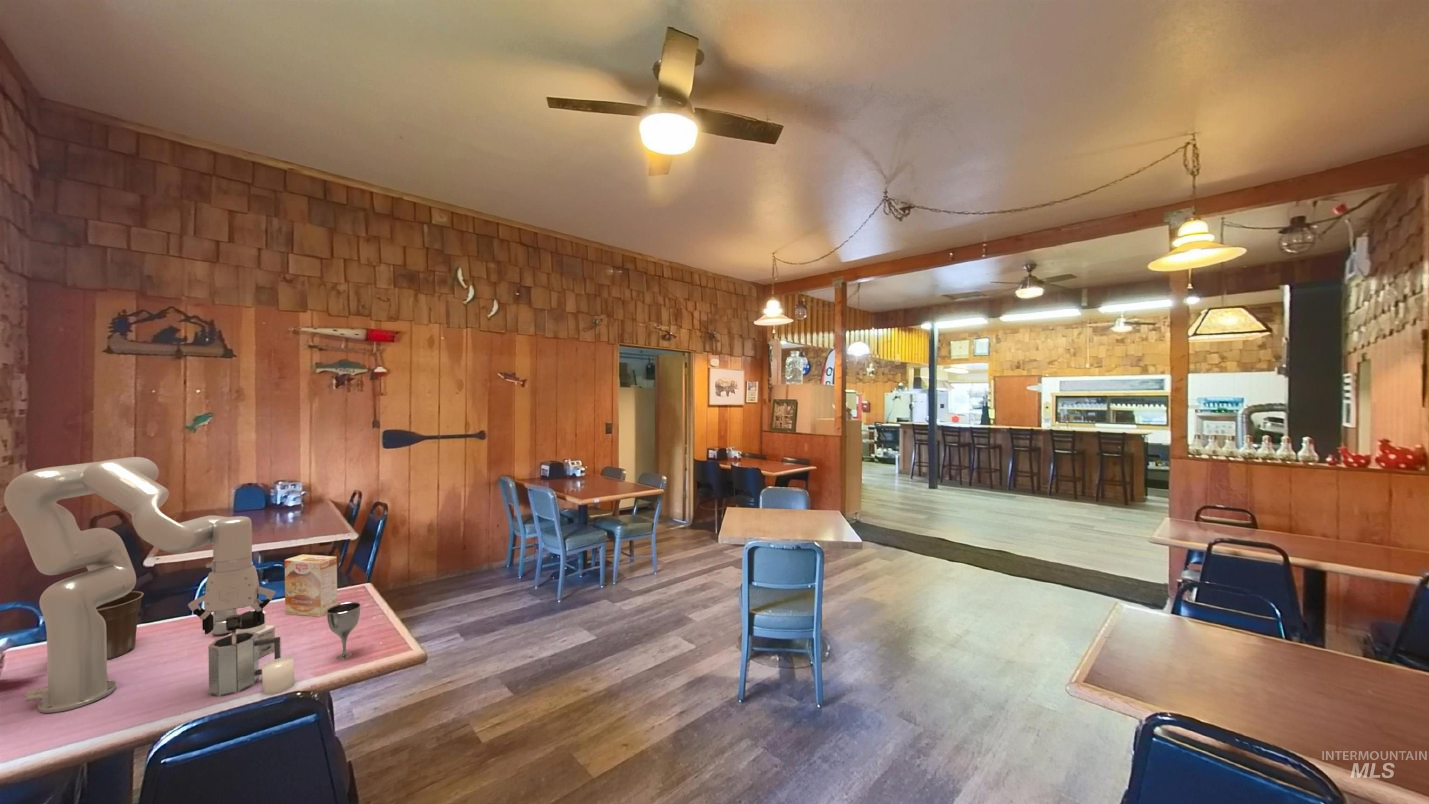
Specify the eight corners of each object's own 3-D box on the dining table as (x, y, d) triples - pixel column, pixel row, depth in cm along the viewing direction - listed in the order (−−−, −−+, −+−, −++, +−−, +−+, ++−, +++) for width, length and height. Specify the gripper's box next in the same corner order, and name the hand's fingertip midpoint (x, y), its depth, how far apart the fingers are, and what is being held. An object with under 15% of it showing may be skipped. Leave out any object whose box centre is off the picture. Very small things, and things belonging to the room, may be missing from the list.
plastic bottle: (242, 631, 168) (241, 571, 168) (214, 639, 163) (213, 577, 162) (235, 626, 172) (235, 567, 172) (208, 634, 166) (207, 573, 166)
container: (247, 663, 148) (247, 619, 148) (226, 661, 150) (226, 617, 149) (275, 650, 156) (275, 608, 155) (255, 648, 157) (254, 606, 157)
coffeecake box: (284, 614, 182) (283, 559, 181) (303, 606, 189) (302, 553, 188) (320, 617, 179) (319, 562, 179) (338, 608, 186) (337, 555, 186)
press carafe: (203, 702, 129) (202, 651, 129) (218, 683, 138) (217, 636, 138) (274, 687, 136) (274, 639, 136) (285, 670, 144) (284, 625, 144)
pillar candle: (257, 698, 131) (256, 672, 131) (269, 685, 137) (268, 659, 137) (288, 693, 133) (287, 667, 133) (298, 680, 139) (297, 655, 139)
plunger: (214, 686, 132) (213, 623, 131) (224, 675, 137) (223, 614, 137) (245, 680, 134) (244, 619, 134) (253, 670, 140) (252, 610, 139)
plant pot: (77, 673, 143) (76, 616, 143) (47, 663, 148) (46, 608, 148) (156, 646, 158) (155, 594, 158) (126, 638, 164) (125, 588, 163)
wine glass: (363, 657, 152) (363, 607, 151) (330, 667, 146) (330, 615, 146) (357, 648, 157) (356, 599, 157) (325, 658, 151) (324, 607, 151)
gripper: (181, 573, 128) (182, 641, 128) (270, 563, 136) (270, 627, 136) (195, 564, 135) (195, 629, 135) (278, 555, 142) (279, 616, 143)
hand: (233, 628), depth 135 cm, fingers open, 9 cm apart
